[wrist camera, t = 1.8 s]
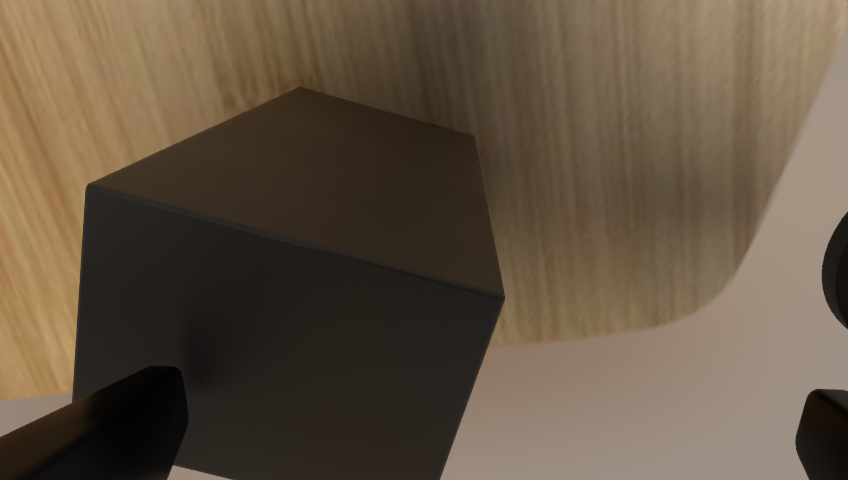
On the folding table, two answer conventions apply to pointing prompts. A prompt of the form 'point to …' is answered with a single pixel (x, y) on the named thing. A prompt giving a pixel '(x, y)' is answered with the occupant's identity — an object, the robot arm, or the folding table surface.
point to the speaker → (298, 289)
